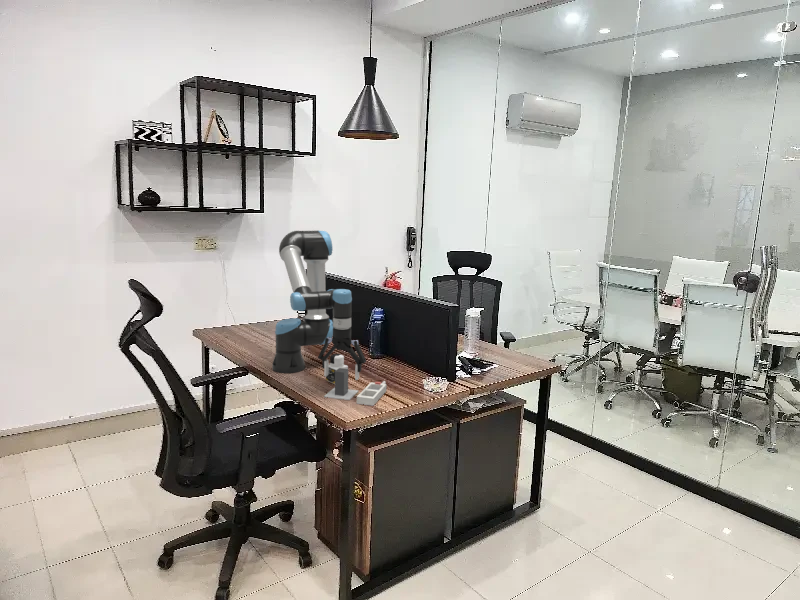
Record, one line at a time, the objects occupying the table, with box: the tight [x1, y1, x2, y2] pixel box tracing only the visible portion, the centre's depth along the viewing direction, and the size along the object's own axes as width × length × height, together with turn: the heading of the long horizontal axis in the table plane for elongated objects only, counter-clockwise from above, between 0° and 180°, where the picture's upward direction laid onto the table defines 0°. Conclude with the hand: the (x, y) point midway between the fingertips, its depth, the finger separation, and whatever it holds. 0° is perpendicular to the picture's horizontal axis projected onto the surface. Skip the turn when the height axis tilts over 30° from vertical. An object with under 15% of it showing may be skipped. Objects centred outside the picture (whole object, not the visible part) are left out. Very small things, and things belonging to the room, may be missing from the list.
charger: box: [334, 368, 349, 396], centre depth 231 cm, size 5×4×10 cm
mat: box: [323, 387, 359, 401], centre depth 232 cm, size 11×11×1 cm
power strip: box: [356, 380, 388, 407], centre depth 234 cm, size 27×7×4 cm, turn 165°
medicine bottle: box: [325, 353, 349, 385], centre depth 247 cm, size 7×7×12 cm
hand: (341, 377), depth 231 cm, fingers open, 13 cm apart
